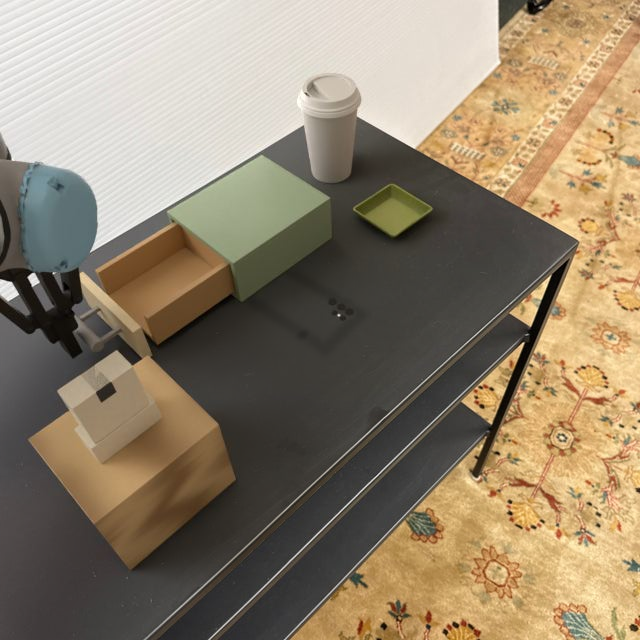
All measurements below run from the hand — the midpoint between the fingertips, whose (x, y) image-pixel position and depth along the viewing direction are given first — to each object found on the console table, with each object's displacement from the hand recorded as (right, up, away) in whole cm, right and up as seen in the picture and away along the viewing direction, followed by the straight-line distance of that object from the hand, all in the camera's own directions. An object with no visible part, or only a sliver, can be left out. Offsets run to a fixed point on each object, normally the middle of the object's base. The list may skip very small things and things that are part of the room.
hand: (72, 349), depth 81 cm
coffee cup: (+33, +28, +25) cm, 50 cm away
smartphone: (+28, +6, +8) cm, 30 cm away
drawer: (+9, +5, +6) cm, 12 cm away
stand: (+13, -15, -9) cm, 22 cm away
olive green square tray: (+42, +19, +17) cm, 49 cm away
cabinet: (+21, +15, +15) cm, 30 cm away
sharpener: (+12, -7, -19) cm, 23 cm away
